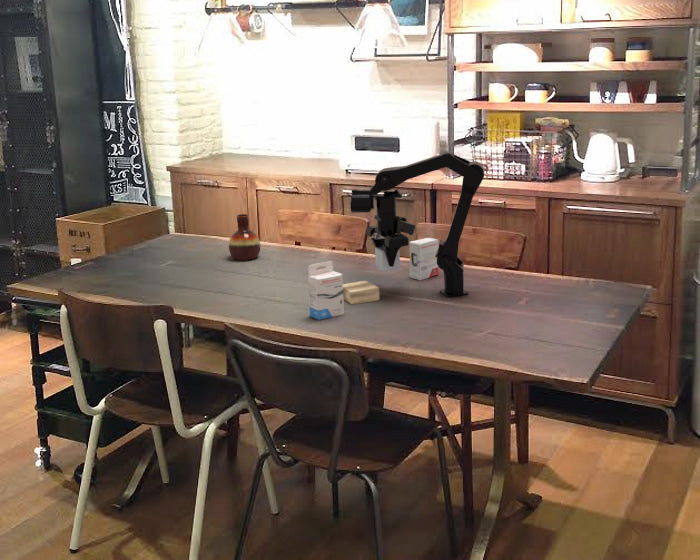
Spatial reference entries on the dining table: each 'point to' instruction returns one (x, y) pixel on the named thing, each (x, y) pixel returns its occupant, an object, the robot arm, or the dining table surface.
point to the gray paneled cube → (385, 260)
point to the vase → (244, 241)
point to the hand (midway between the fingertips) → (387, 264)
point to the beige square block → (360, 292)
